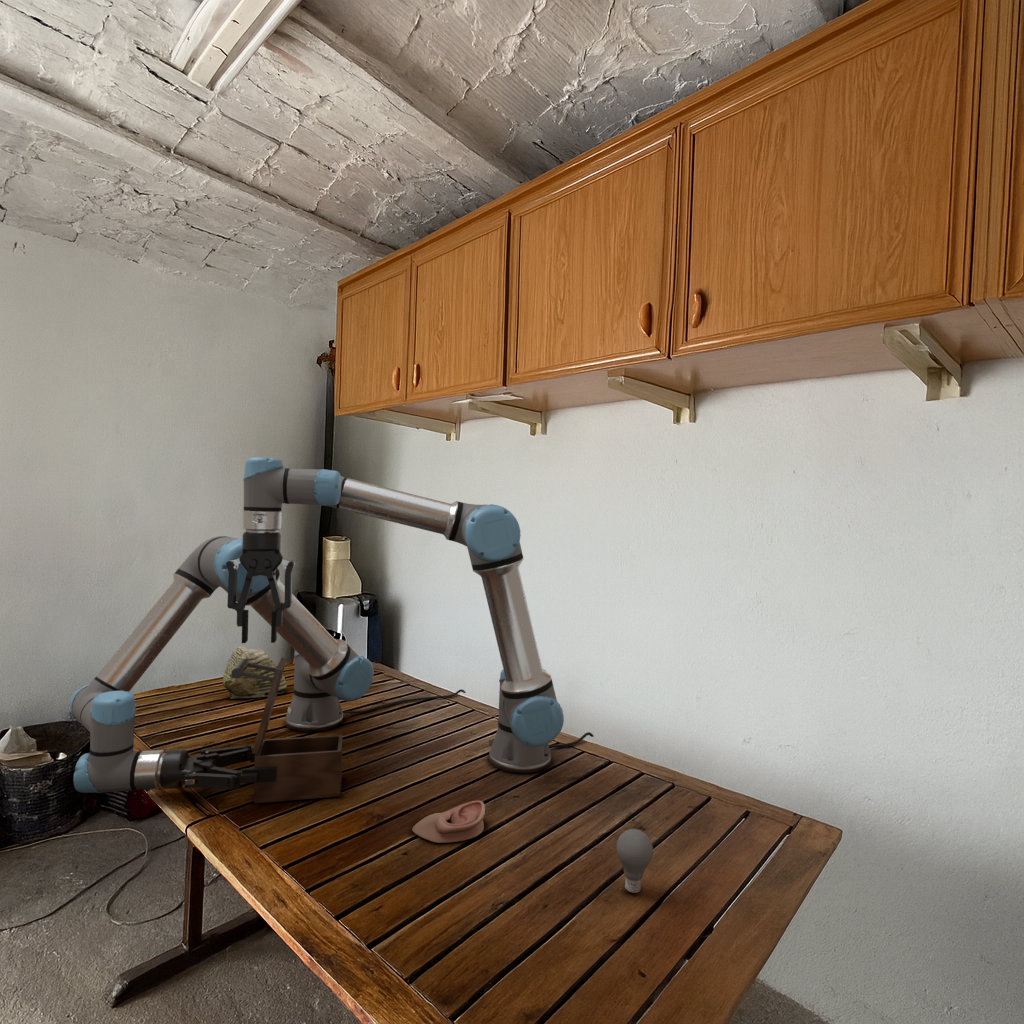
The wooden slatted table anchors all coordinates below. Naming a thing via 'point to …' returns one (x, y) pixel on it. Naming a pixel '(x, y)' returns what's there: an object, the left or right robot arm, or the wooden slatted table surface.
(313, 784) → the chest
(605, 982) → the wooden slatted table surface
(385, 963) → the wooden slatted table surface
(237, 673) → the lid
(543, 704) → the right robot arm
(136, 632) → the left robot arm
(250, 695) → the fossil
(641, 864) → the light bulb
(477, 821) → the anatomical model
